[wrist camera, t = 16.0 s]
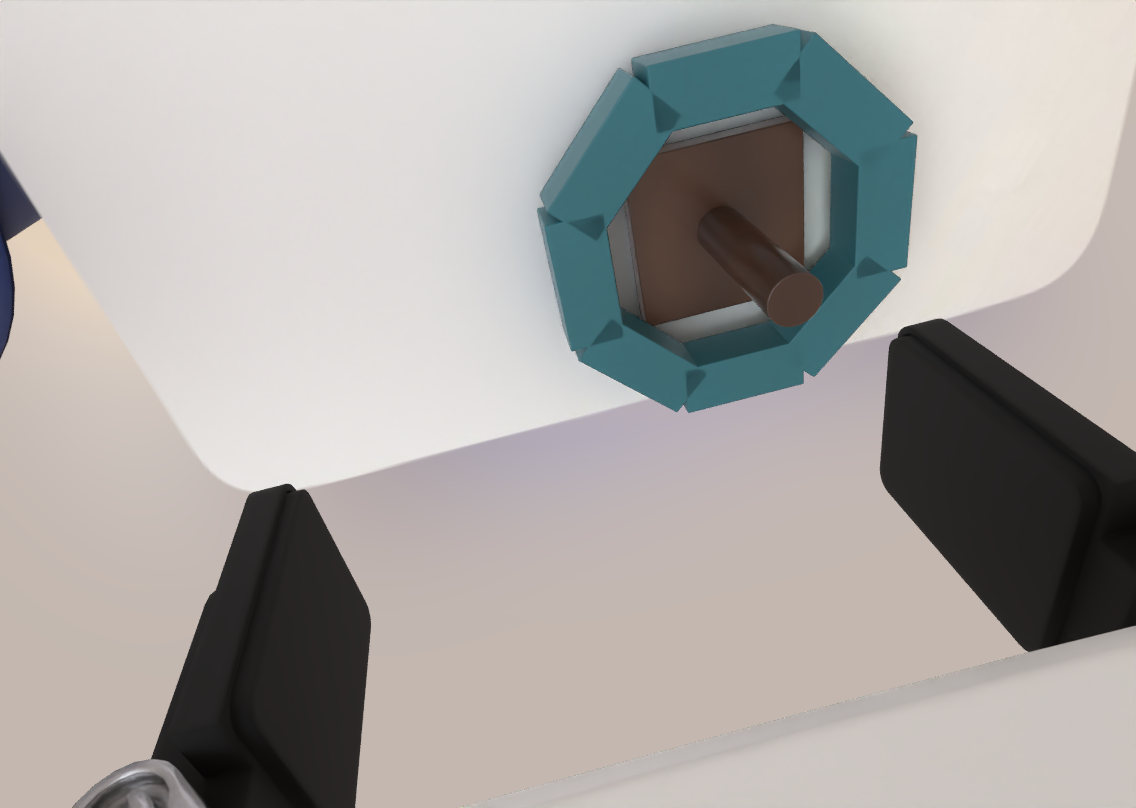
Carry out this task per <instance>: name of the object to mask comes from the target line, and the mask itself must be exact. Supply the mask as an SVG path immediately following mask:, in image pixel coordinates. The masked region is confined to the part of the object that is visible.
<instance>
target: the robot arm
mask: <svg viewBox="0 0 1136 808" xmlns="http://www.w3.org/2000/svg"><path fill="white" fill-rule="evenodd" d="M880 475H881V479H882V482H883V484H884V486H885V488H886V490H887V491H888V493H889V494H890V495H891V496H892V497H893V498H894V500H895V501H896V502H897V503H898V504H899V505H900V507H901V508H902V509H903V510H904V511H905V512H906V513H907V515H908V516H909V517H910V518H911V519H912V520H913V521H914V523H915V524H916V525H917V526H918V527H919V529H920V530H921V531H922V532H923V533H924V534H925V536H926V537H927V538H928V539H929V540H930V541H931V542H932V544H933V545H934V546H935V547H936V548H937V549H938V550H939V551H940V553H941V554H942V555H943V556H944V558H945V559H946V560H947V561H948V562H949V563H950V564H951V566H952V567H953V568H954V569H955V570H956V571H957V572H958V574H959V575H960V576H961V577H962V578H963V579H964V581H965V582H966V583H967V584H968V585H969V586H970V588H971V589H972V590H973V591H974V592H975V593H976V595H977V596H978V597H979V598H980V599H981V600H982V602H983V603H984V604H985V605H986V606H987V607H988V609H989V610H990V611H991V612H992V613H993V614H994V615H995V617H997V619H998V620H999V621H1000V622H1001V624H1002V625H1003V626H1004V627H1005V628H1006V629H1007V631H1008V632H1009V633H1010V634H1011V635H1012V636H1013V638H1015V640H1016V641H1017V642H1018V643H1019V644H1020V645H1021V646H1022V647H1023V648H1024V649H1025V650H1026V651H1028V653H1024V654H1021V655H1017V656H1013V657H1009V658H1005V659H1002V660H998V661H994V662H990V663H987V664H983V665H979V666H976V667H972V668H968V669H965V670H961V671H957V672H953V673H950V674H946V675H942V676H938V677H935V678H931V679H927V680H923V681H919V682H916V683H912V684H908V685H904V686H901V687H897V688H893V689H890V690H886V691H882V692H878V693H874V694H871V695H867V696H863V697H859V698H856V699H852V700H849V701H845V702H841V703H837V704H834V705H830V706H826V707H823V708H819V709H815V710H812V711H808V712H804V713H801V714H797V715H793V716H790V717H786V718H782V719H778V720H775V721H772V722H768V723H764V724H760V725H757V726H753V727H749V728H746V729H742V730H738V731H734V732H731V733H727V734H723V735H720V736H716V737H713V738H709V739H705V740H701V741H698V742H694V743H691V744H687V745H683V746H680V747H676V748H672V749H669V750H665V751H661V752H658V753H654V754H650V755H647V756H643V757H639V758H636V759H632V760H629V761H625V762H622V763H618V764H614V765H611V766H607V767H603V768H600V769H597V770H593V771H589V772H586V773H582V774H578V775H575V776H571V777H568V778H564V779H560V780H557V781H553V782H550V783H546V784H542V785H539V786H536V787H532V788H528V789H524V790H521V791H517V792H514V793H510V794H506V795H503V796H500V797H496V798H493V799H489V800H485V801H482V802H478V803H474V804H471V805H467V806H464V807H460V808H1136V452H1135V451H1133V450H1131V449H1130V448H1128V447H1127V446H1126V445H1125V444H1123V443H1122V442H1120V441H1119V440H1117V439H1116V438H1114V437H1113V436H1111V435H1110V434H1109V433H1107V432H1106V431H1104V430H1103V429H1102V428H1100V427H1099V426H1097V425H1096V424H1094V423H1093V422H1091V421H1090V420H1089V419H1087V418H1086V417H1084V416H1083V415H1081V414H1080V413H1078V412H1077V411H1076V410H1074V409H1073V408H1071V407H1070V406H1068V405H1067V404H1066V403H1064V402H1063V401H1061V400H1060V399H1058V398H1057V397H1056V396H1054V395H1053V394H1051V393H1050V392H1048V391H1047V390H1045V389H1044V388H1043V387H1041V386H1040V385H1038V384H1037V383H1035V382H1034V381H1033V380H1031V379H1030V378H1028V377H1027V376H1025V375H1024V374H1022V373H1021V372H1020V371H1018V370H1017V369H1015V368H1014V367H1012V366H1011V365H1009V364H1008V363H1007V362H1005V361H1004V360H1002V359H1001V358H999V357H998V356H997V355H995V354H994V353H992V352H991V351H989V350H988V349H986V348H985V347H984V346H982V345H981V344H979V343H978V342H977V341H975V340H974V339H972V338H971V337H969V336H968V335H966V334H965V333H964V332H962V331H961V330H959V329H958V328H956V327H955V326H953V325H952V324H951V323H949V322H948V321H946V320H944V319H934V320H930V321H926V322H922V323H918V324H915V325H911V326H907V327H904V328H903V329H901V330H900V332H899V334H898V338H896V339H894V340H892V342H891V343H890V346H889V355H888V369H887V381H886V395H885V408H884V421H883V434H882V449H881V461H880ZM370 620H371V619H370V614H369V609H368V606H367V604H366V602H365V600H364V598H363V596H362V594H361V592H360V590H359V588H358V586H357V584H356V582H355V580H354V579H353V577H352V575H351V573H350V571H349V569H348V567H347V565H346V563H345V561H344V559H343V558H342V556H341V554H340V552H339V550H338V548H337V546H336V544H335V542H334V540H333V538H332V536H331V534H330V533H329V531H328V529H327V527H326V525H325V523H324V521H323V519H322V517H321V515H320V513H319V512H318V510H317V508H316V506H315V504H314V502H313V500H312V498H311V496H310V495H309V493H308V492H307V491H306V490H299V491H296V489H295V488H294V487H293V486H292V485H291V484H284V485H280V486H276V487H272V488H268V489H264V490H260V491H256V492H253V493H251V494H249V496H248V498H247V500H246V503H245V506H244V509H243V512H242V515H241V518H240V521H239V524H238V527H237V530H236V532H235V535H234V539H233V541H232V544H231V547H230V550H229V553H228V556H227V559H226V562H225V565H224V568H223V571H222V574H221V577H220V579H219V583H218V586H217V588H216V591H214V592H213V593H212V594H211V595H210V596H209V598H208V600H207V602H206V604H205V606H204V609H203V612H202V615H201V618H200V620H199V624H198V626H197V629H196V632H195V635H194V638H193V641H192V643H191V646H190V649H189V652H188V655H187V658H186V661H185V663H184V666H183V669H182V672H181V675H180V678H179V681H178V684H177V686H176V689H175V692H174V695H173V698H172V701H171V703H170V706H169V709H168V713H167V715H166V718H165V721H164V724H163V727H162V729H161V732H160V735H159V738H158V741H157V744H156V746H155V749H154V752H153V755H152V758H151V759H150V760H144V761H139V762H134V763H132V764H129V765H127V766H125V767H123V768H121V769H118V770H116V771H114V772H113V773H111V774H110V775H108V776H107V777H106V778H104V779H103V780H101V781H100V782H99V783H97V784H95V785H94V786H93V787H92V788H91V789H90V790H89V791H88V792H87V793H86V794H85V795H84V796H82V797H81V799H79V800H78V801H77V802H76V803H75V805H74V806H73V807H72V808H355V801H356V788H357V777H358V767H359V756H360V745H361V733H362V722H363V711H364V699H365V688H366V677H367V665H368V653H369V643H370V632H371V621H370Z"/></svg>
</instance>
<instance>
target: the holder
mask: <svg viewBox="0 0 1136 808" xmlns="http://www.w3.org/2000/svg"><path fill="white" fill-rule="evenodd" d="M624 207H625V213H626V220H627V226H628V233H629V239H630V246H631V252H632V259H633V265H634V272H635V278H636V285H637V292H638V298H639V305H640V311H641V318H642V320H643V321H645V322H647V323H649V324H650V325H652V326H654V325H658V324H662V323H666V322H670V321H674V320H678V319H682V318H686V317H690V316H694V315H698V314H701V313H705V312H709V311H713V310H717V309H721V308H725V307H729V306H733V305H737V304H741V303H745V302H749V301H754V302H755V303H756V304H757V305H758V306H759V307H760V309H761V310H762V311H763V312H764V313H765V314H766V315H767V316H768V317H769V318H770V319H771V320H772V321H773V322H774V323H775V324H777V325H779V326H783V327H794V326H798V325H801V324H803V323H805V322H806V321H808V320H809V319H810V318H812V317H813V316H814V315H815V313H816V312H817V311H818V309H819V308H820V305H821V303H822V300H823V287H822V284H821V282H820V280H819V279H818V278H817V277H816V276H814V275H813V274H812V273H811V272H810V271H808V270H807V269H806V268H805V267H804V171H803V130H802V129H801V128H800V127H798V126H797V125H796V124H795V123H794V122H792V121H791V120H790V119H789V118H788V117H786V116H782V117H778V118H774V119H770V120H766V121H762V122H758V123H754V124H750V125H746V126H742V127H737V128H733V129H729V130H725V131H721V132H717V133H713V134H709V135H705V136H701V137H697V138H693V139H689V140H685V141H681V142H677V143H672V144H668V145H664V146H662V148H661V149H660V151H659V152H658V153H657V155H656V156H655V158H654V159H653V161H652V162H651V164H650V165H649V167H648V168H647V170H646V171H645V173H644V174H643V176H642V177H641V179H640V180H639V181H638V183H637V184H636V186H635V187H634V189H633V190H632V192H631V193H630V195H629V196H628V198H627V199H626V201H625V202H624Z"/></svg>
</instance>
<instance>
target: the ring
mask: <svg viewBox="0 0 1136 808" xmlns="http://www.w3.org/2000/svg"><path fill="white" fill-rule="evenodd" d="M631 62H632V70H633V76H632V75H631V74H629V73H627V72H626V71H624V70H622V69H620V68H619V69H617V71H616V73H615V74H614V76H613V78H612V79H611V81H610V82H609V84H608V86H607V87H606V89H605V90H604V92H603V94H602V95H601V97H600V98H599V100H598V102H597V103H596V105H595V106H594V108H593V110H592V111H591V113H590V114H589V116H588V118H587V119H586V121H585V122H584V124H583V126H582V127H581V129H580V130H579V132H578V134H577V135H576V137H575V138H574V140H573V142H572V143H571V145H570V146H569V148H568V150H567V151H566V153H565V154H564V156H563V158H562V159H561V161H560V162H559V164H558V166H557V167H556V169H555V171H554V172H553V174H552V175H551V177H550V179H549V180H548V182H547V183H546V185H545V187H544V188H543V190H542V191H541V193H540V197H541V200H542V202H543V204H544V206H545V207H542V208H538V209H537V213H538V217H539V222H540V226H541V231H542V235H543V240H544V244H545V249H546V253H547V258H548V262H549V267H550V271H551V276H552V280H553V285H554V289H555V294H556V298H557V303H558V307H559V312H560V316H561V321H562V325H563V329H564V332H565V335H566V337H567V340H568V343H569V346H570V349H571V351H575V352H576V354H577V357H578V360H579V361H580V362H582V363H584V364H586V365H588V366H590V367H592V368H594V369H595V370H597V371H599V372H601V373H603V374H605V375H607V376H609V377H611V378H613V379H614V380H616V381H618V382H620V383H622V384H624V385H626V386H628V387H630V388H632V389H634V390H635V391H637V392H639V393H641V394H643V395H645V396H647V397H649V398H651V399H653V400H655V401H657V402H658V403H660V404H662V405H664V406H666V407H668V408H670V409H672V410H674V411H675V412H678V411H679V409H680V408H681V407H682V405H684V406H685V408H686V410H687V411H688V412H689V413H690V412H695V411H698V410H702V409H706V408H710V407H714V406H718V405H722V404H726V403H730V402H734V401H738V400H742V399H745V398H749V397H753V396H757V395H761V394H765V393H769V392H773V391H777V390H781V389H784V388H788V387H792V386H796V385H800V384H803V383H804V382H803V381H804V380H803V378H804V377H803V375H804V374H803V371H805V372H807V373H808V374H810V375H811V376H816V375H817V373H818V372H819V371H820V370H821V369H822V368H823V367H824V366H825V364H826V363H827V362H828V361H829V360H830V359H831V358H832V356H833V355H834V354H835V353H836V352H837V351H838V350H839V349H840V348H841V346H842V345H843V344H844V343H845V342H846V341H847V340H848V339H849V337H850V336H851V335H852V334H853V333H854V332H855V331H856V330H857V328H858V327H859V326H860V325H861V324H862V323H863V322H864V321H865V319H866V318H867V317H868V316H869V315H870V314H871V313H872V312H873V310H874V309H875V308H876V307H877V306H878V305H879V304H880V303H881V302H882V300H883V299H884V298H885V297H886V296H887V295H888V294H889V293H890V291H891V290H892V289H893V288H894V287H895V286H896V285H897V284H898V282H899V281H900V280H901V279H900V277H898V276H897V275H896V274H894V273H893V272H892V271H893V270H897V269H901V268H905V267H907V258H908V245H909V233H910V220H911V208H912V196H913V183H914V171H915V158H916V146H917V135H916V134H913V133H910V132H908V131H907V130H908V129H909V127H910V126H911V125H912V124H913V121H912V120H911V119H910V118H909V117H908V116H906V115H905V114H904V113H903V112H902V111H901V110H900V109H899V108H898V107H897V106H895V105H894V104H893V103H892V102H891V101H890V100H889V99H888V98H887V97H886V96H885V95H883V94H882V93H881V92H880V91H879V90H878V89H877V88H876V87H875V86H874V85H872V84H871V83H870V82H869V81H868V80H867V79H866V78H865V77H864V76H863V75H862V74H860V73H859V72H858V71H857V70H856V69H855V68H854V67H853V66H852V65H851V64H849V63H848V62H847V61H846V60H845V59H844V58H843V57H842V56H841V55H840V54H839V53H837V52H836V51H835V50H834V49H833V48H832V47H831V46H830V45H829V44H828V43H826V42H825V41H824V40H823V39H822V38H821V37H820V36H819V35H818V34H817V33H815V32H810V31H804V30H800V29H796V28H791V27H785V26H780V25H775V24H772V25H768V26H763V27H759V28H755V29H751V30H747V31H743V32H738V33H734V34H730V35H726V36H722V37H718V38H713V39H709V40H705V41H701V42H697V43H693V44H688V45H684V46H680V47H676V48H672V49H668V50H663V51H659V52H655V53H651V54H647V55H643V56H638V57H634V58H632V59H631ZM770 107H775V108H777V109H778V110H779V111H780V112H781V113H783V114H784V115H785V116H786V117H788V118H789V119H790V120H791V121H792V122H794V123H795V124H796V125H797V126H798V127H800V128H801V129H802V130H803V131H805V132H806V133H807V134H808V135H809V136H811V137H812V138H813V139H814V140H816V141H817V142H818V143H819V144H820V145H822V146H823V147H824V148H825V149H827V150H828V151H829V152H830V153H831V202H830V248H829V249H828V250H827V251H826V252H825V254H824V255H823V256H822V257H821V259H820V260H819V261H818V262H817V263H816V265H815V266H814V267H813V268H812V269H811V271H810V272H811V273H812V274H813V275H814V276H816V277H817V278H818V279H819V280H820V282H821V284H822V287H823V300H822V303H821V305H820V308H819V309H818V311H817V312H816V313H815V315H814V316H813V317H812V318H810V319H809V320H808V321H806V322H805V323H803V324H801V325H798V326H794V327H783V326H779V325H777V324H775V323H774V322H773V321H772V320H771V319H770V320H769V321H768V322H765V323H761V324H757V325H753V326H749V327H745V328H741V329H737V330H733V331H729V332H725V333H721V334H717V335H713V336H709V337H705V338H701V339H697V340H693V341H689V342H685V343H681V342H680V341H678V340H676V339H675V338H673V337H671V336H669V335H668V334H666V333H664V332H662V331H661V330H659V329H657V328H656V327H654V326H652V325H650V324H649V323H647V322H645V321H643V320H642V319H640V318H638V317H637V316H635V315H633V314H631V313H630V312H628V311H626V310H625V309H623V308H621V307H620V304H619V298H618V292H617V286H616V280H615V274H614V268H613V262H612V256H611V251H610V245H609V239H608V233H607V227H608V226H609V224H610V223H611V221H612V220H613V218H614V217H615V215H616V214H617V212H618V211H619V209H620V208H621V207H622V205H623V204H624V202H625V201H626V199H627V198H628V196H629V195H630V193H631V192H632V190H633V189H634V187H635V186H636V184H637V183H638V181H639V180H640V179H641V177H642V176H643V174H644V173H645V171H646V170H647V168H648V167H649V165H650V164H651V162H652V161H653V159H654V158H655V156H656V155H657V153H658V152H659V151H660V149H661V148H662V146H663V145H664V143H665V142H666V140H667V139H668V137H669V136H670V134H671V133H672V131H676V130H680V129H684V128H688V127H692V126H696V125H700V124H705V123H709V122H713V121H717V120H721V119H725V118H729V117H733V116H737V115H742V114H746V113H750V112H754V111H758V110H762V109H766V108H770Z"/></svg>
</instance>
